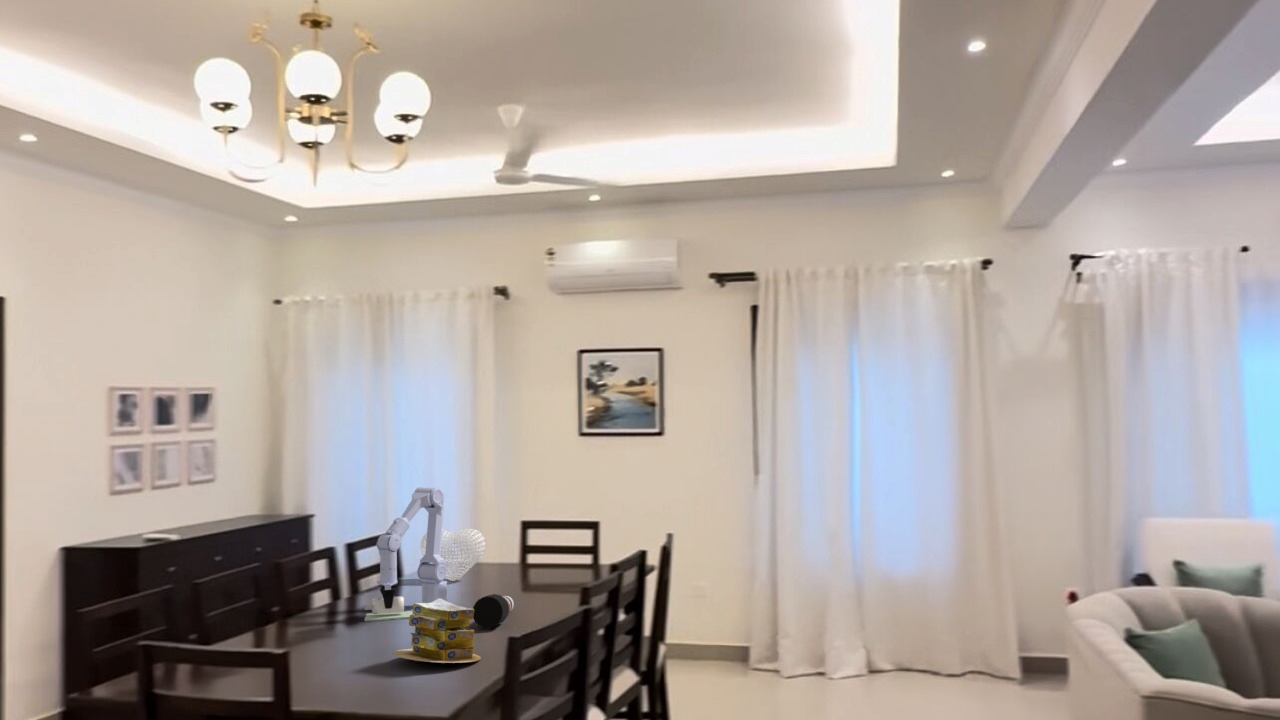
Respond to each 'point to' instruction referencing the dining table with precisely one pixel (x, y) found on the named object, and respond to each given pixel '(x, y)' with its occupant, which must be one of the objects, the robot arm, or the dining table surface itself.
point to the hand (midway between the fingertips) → (388, 607)
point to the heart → (459, 550)
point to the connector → (379, 607)
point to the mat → (388, 616)
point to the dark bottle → (492, 610)
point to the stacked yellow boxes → (440, 633)
